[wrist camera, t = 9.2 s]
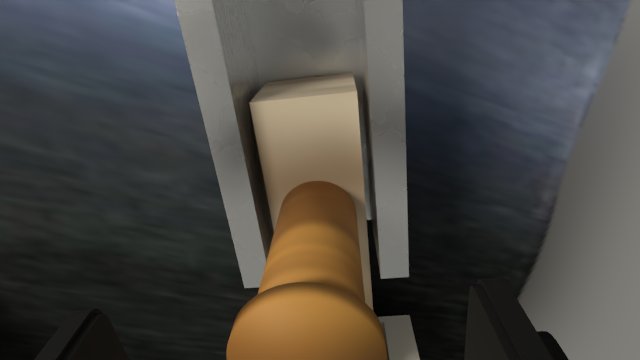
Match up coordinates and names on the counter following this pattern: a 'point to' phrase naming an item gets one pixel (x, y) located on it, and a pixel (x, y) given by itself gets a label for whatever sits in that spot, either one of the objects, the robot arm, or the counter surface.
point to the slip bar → (311, 229)
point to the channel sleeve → (297, 63)
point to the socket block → (399, 338)
